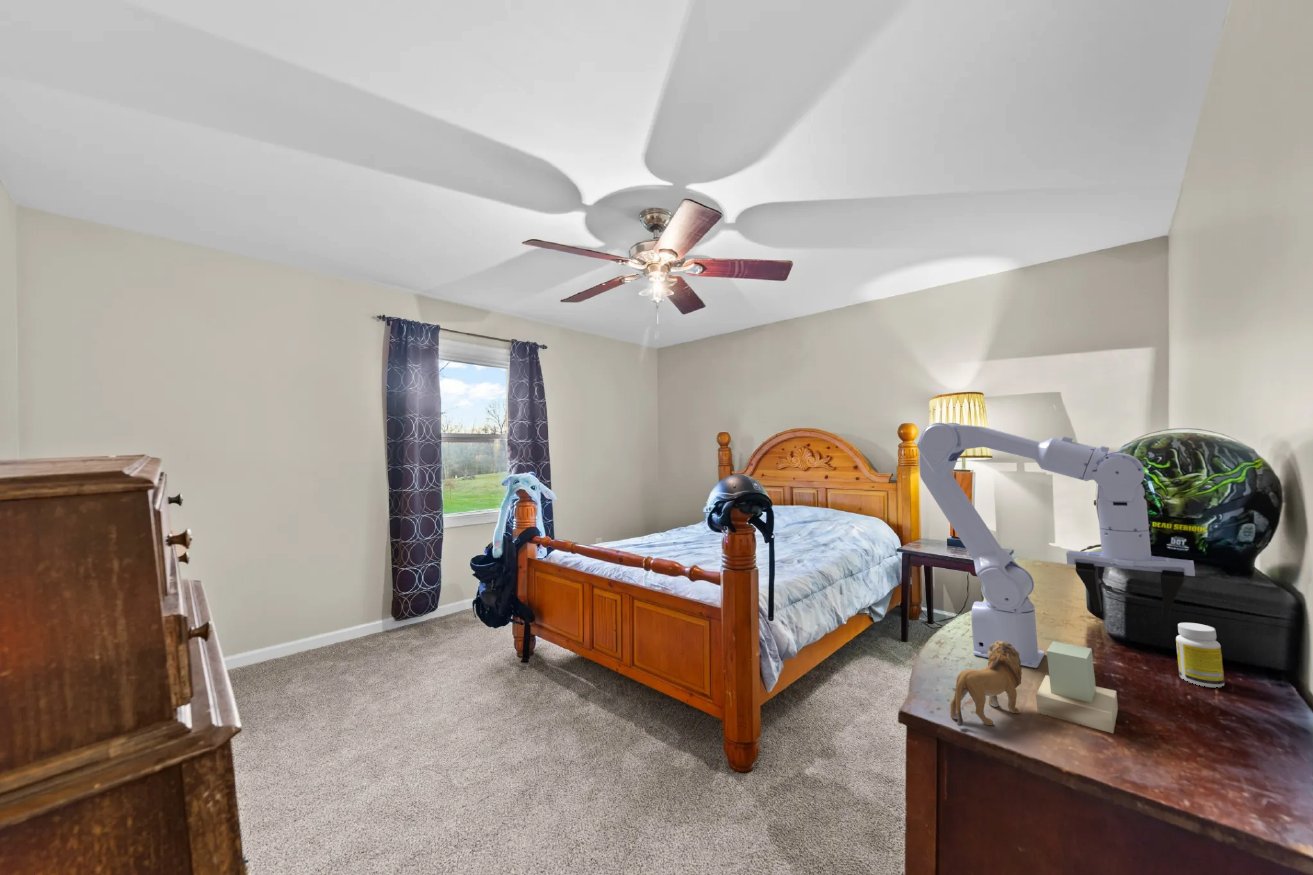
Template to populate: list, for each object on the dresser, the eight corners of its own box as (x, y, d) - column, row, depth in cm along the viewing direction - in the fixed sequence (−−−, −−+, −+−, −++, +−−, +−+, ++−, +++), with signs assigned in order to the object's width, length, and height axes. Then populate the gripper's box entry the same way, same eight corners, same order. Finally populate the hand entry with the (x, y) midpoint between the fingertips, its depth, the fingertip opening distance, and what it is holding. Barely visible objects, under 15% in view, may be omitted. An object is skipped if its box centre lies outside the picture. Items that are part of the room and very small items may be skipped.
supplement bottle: (1234, 689, 74) (1229, 632, 74) (1196, 688, 75) (1191, 631, 75) (1205, 674, 78) (1200, 621, 79) (1170, 673, 79) (1165, 621, 80)
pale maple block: (1037, 715, 70) (1035, 694, 71) (1047, 694, 76) (1045, 675, 76) (1113, 736, 65) (1111, 713, 65) (1118, 712, 70) (1116, 690, 70)
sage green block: (1050, 692, 71) (1046, 650, 71) (1057, 681, 74) (1052, 641, 74) (1091, 702, 68) (1086, 658, 68) (1096, 690, 70) (1091, 648, 71)
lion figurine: (994, 691, 77) (990, 633, 77) (1034, 705, 72) (1029, 644, 73) (940, 722, 70) (936, 657, 70) (981, 740, 65) (975, 670, 65)
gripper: (1061, 529, 81) (1068, 612, 80) (1191, 536, 70) (1200, 632, 70) (1067, 523, 85) (1073, 602, 85) (1190, 528, 75) (1198, 618, 75)
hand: (1131, 615), depth 78 cm, fingers open, 7 cm apart
